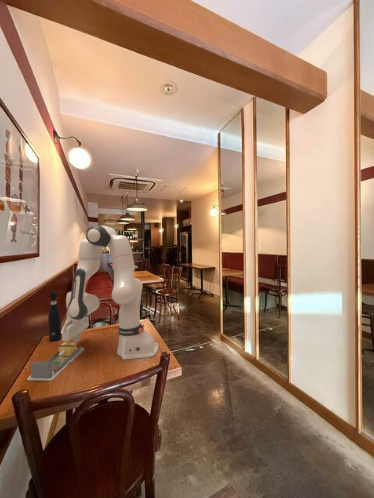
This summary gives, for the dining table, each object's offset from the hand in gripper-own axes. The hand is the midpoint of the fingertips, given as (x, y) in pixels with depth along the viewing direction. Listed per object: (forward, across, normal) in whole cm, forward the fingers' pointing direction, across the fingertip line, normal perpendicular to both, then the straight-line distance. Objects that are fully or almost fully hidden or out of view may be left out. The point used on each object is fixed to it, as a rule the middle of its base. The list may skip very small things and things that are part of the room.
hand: (76, 341), depth 119 cm
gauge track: (+4, -15, 0) cm, 16 cm away
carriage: (+2, -10, 0) cm, 10 cm away
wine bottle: (+4, +10, +20) cm, 23 cm away
